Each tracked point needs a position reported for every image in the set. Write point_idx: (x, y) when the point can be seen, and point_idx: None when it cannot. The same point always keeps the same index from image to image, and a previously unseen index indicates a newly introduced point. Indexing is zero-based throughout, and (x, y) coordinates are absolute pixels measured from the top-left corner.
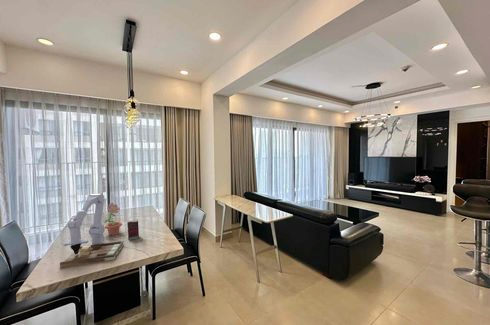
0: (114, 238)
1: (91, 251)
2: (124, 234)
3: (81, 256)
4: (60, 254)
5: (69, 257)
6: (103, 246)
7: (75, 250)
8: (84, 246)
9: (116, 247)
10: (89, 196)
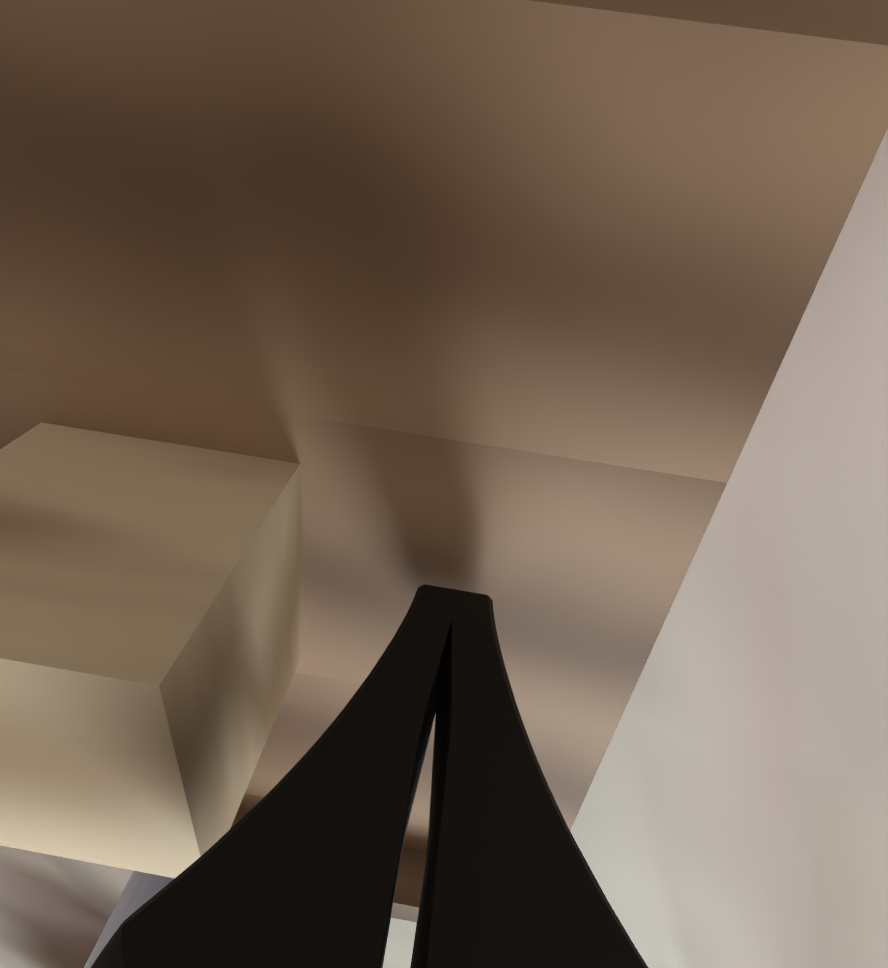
0: (87, 922)
1: None
2: (12, 952)
3: (225, 394)
4: (881, 846)
5: (650, 518)
6: None
7: (447, 739)
8: (133, 852)
9: None
10: None
